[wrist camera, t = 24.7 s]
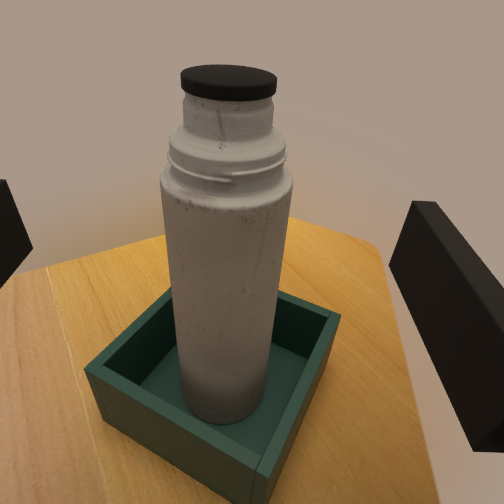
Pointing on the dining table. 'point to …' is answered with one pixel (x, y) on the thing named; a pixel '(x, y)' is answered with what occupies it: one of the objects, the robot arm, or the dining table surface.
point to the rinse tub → (197, 430)
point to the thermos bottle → (225, 236)
